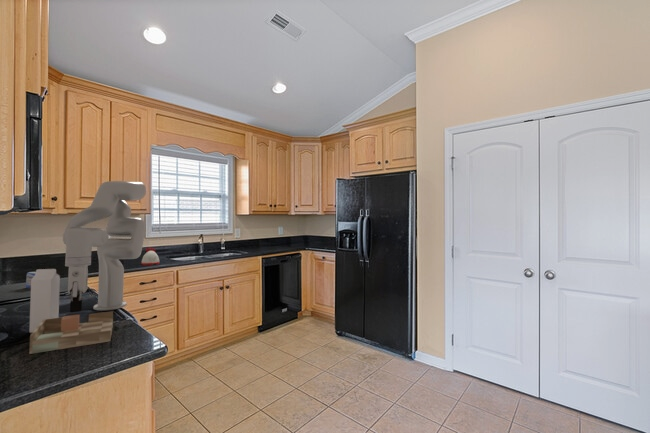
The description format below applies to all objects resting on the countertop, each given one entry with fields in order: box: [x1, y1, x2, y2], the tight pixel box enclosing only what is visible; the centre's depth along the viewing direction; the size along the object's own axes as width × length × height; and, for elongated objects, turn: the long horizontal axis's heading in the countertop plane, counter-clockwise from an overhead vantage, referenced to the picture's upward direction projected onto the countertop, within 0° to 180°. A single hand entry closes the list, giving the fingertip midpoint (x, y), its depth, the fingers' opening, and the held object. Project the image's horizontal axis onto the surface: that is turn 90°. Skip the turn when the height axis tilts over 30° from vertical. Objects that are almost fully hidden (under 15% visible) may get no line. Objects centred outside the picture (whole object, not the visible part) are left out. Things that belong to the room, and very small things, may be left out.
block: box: [61, 314, 81, 332], centre depth 107 cm, size 4×4×4 cm
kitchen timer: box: [140, 247, 160, 266], centre depth 272 cm, size 14×14×15 cm
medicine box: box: [25, 271, 36, 289], centre depth 175 cm, size 8×4×9 cm, turn 76°
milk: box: [29, 268, 61, 333], centre depth 113 cm, size 6×6×22 cm
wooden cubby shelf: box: [28, 310, 114, 355], centre depth 105 cm, size 17×20×6 cm
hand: (75, 311), depth 113 cm, fingers closed
